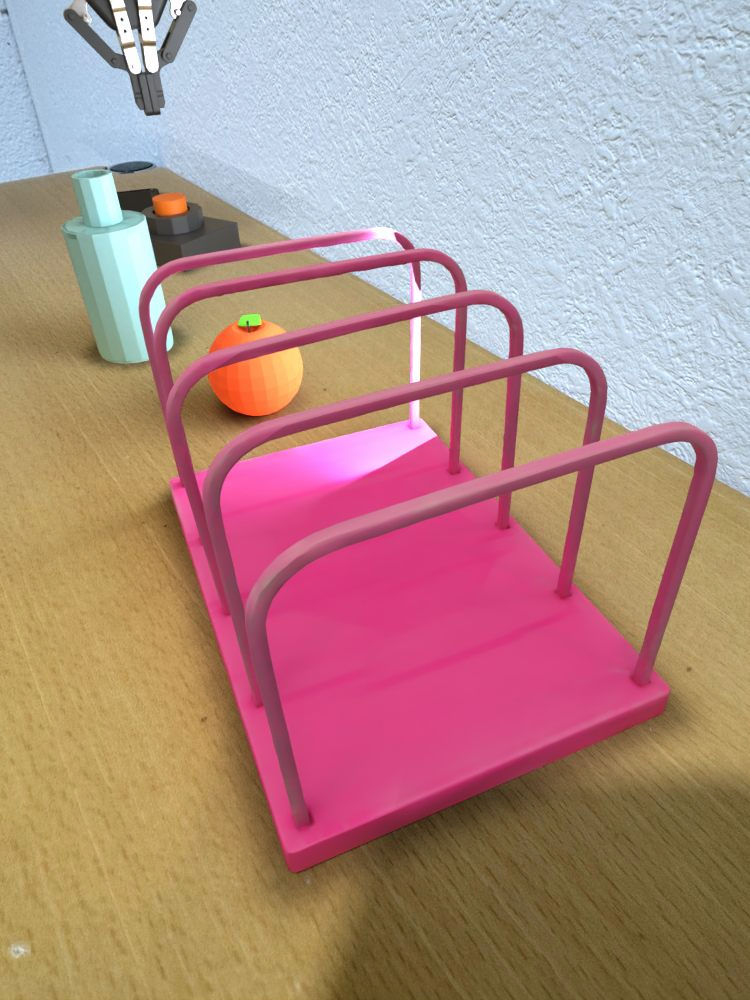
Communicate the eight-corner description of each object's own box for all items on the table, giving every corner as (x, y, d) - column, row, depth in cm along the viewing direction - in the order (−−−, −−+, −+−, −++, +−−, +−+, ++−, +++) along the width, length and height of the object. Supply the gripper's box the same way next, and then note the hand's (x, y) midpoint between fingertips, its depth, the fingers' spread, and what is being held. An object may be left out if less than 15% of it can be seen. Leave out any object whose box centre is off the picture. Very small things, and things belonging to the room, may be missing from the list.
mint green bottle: (85, 356, 61) (29, 179, 52) (140, 329, 65) (96, 160, 56) (135, 373, 58) (84, 188, 49) (189, 343, 62) (151, 168, 53)
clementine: (220, 383, 56) (204, 298, 52) (306, 377, 56) (297, 292, 52) (211, 437, 50) (191, 346, 45) (307, 430, 50) (297, 338, 46)
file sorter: (291, 881, 26) (218, 578, 16) (172, 501, 44) (105, 252, 34) (666, 715, 31) (784, 408, 21) (420, 436, 49) (422, 203, 39)
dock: (118, 258, 81) (106, 214, 78) (174, 236, 86) (166, 194, 83) (186, 274, 76) (177, 227, 73) (241, 250, 82) (234, 205, 78)
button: (148, 215, 78) (145, 199, 77) (172, 207, 80) (169, 191, 79) (171, 220, 76) (168, 203, 75) (194, 211, 79) (191, 194, 78)
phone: (157, 187, 101) (165, 215, 89) (159, 195, 101) (167, 224, 90) (101, 193, 99) (101, 222, 88) (103, 202, 100) (104, 231, 88)
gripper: (173, -105, 66) (208, 102, 77) (26, -101, 62) (84, 116, 73) (187, -112, 60) (223, 112, 71) (26, -108, 57) (89, 128, 68)
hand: (152, 114), depth 72 cm, fingers closed
